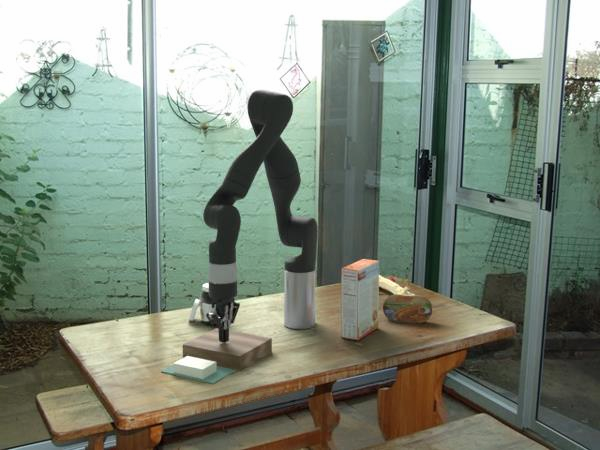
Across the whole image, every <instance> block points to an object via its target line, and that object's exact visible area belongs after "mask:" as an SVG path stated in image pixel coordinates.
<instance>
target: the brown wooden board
mask: <svg viewBox="0 0 600 450" xmlns="http://www.w3.org/2000/svg"><path fill="white" fill-rule="evenodd" d="M271 353H273V338H272V337H267V336H261V335H256V334H251V333H246V332H242V331H234V330H230V329H229V341H227V342H226V343H223V342H220V341H219V330H218V328H213V329H212V330H209V331H207V332H205V333H203V334H201V335H200V336H198V337H195V338H193V339H191V340H188V341H187V342H185V343H183V344H182V358H184V357H186V356H190V357H195V358H200V359H205V360H209V361H214V362H216V364H217V366H220V367H225V368H230V369H234V370H236V371H238V372H239V371H240V372H241V371H243V370H244V369H246V368H248V367H249V366H251V365H252V364H255V363H256V362H258V361H260V360H261V359H263V358H265V357H266V356H269V355H270V354H271Z"/></svg>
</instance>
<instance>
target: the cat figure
mask: <svg viewBox="0 0 600 450" xmlns="http://www.w3.org/2000/svg"><path fill="white" fill-rule="evenodd" d="M388 277H389V278H390V279H388V278H385V277H383V276H382V275H380V274H379V288H382V289H383V290H386V291H388V292H390V293H392V295H394V294H401V295H416V294H415V293H411V292H409V290H410V289H411V287H412V286H411V282H410V279H404V281H403V282H404V284H405V287H401V286H400V285H399V284H398V283H397V282H396V279H395V278H394V277H393V276H388Z"/></svg>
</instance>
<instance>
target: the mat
mask: <svg viewBox="0 0 600 450" xmlns="http://www.w3.org/2000/svg"><path fill="white" fill-rule="evenodd" d="M236 371H237V370H234V369H230V368H225V367H220V366H217V371H216V372H215V373H213V374H211V375H209V376H207V377H206V378H204V379H200V378H196V377H191V376H187V375H182V374H178V373H173V364H172V365H170V366H168V367H165V368H163V369H162V370H160V372H161V373H164V374H169V375H173V376H177V377H180V378H185V379H190V380H194V381H198V382H204V383H208V384H212V385H214V384H215V383H217V382H219V381H221V380H222V379H225V378H226V377H228V376H229V375H231V374H232V373H235V372H236Z"/></svg>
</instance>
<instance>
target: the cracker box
mask: <svg viewBox="0 0 600 450" xmlns="http://www.w3.org/2000/svg"><path fill="white" fill-rule="evenodd" d="M340 272H341V273H340V274H341V277H340V278H341V280H340V283H341V286H340V287H341V288H340V289H341V291H340V294H341V296H340V297H341V299H340V301H341V302H340V305H341V312H340V314H341V315H340V316H341V318H340V319H341V322H340V325H341V329H340V330H341V331H340V335H341V336H340V337H341V339H346V340H347V339H348V340H354V341H360V340H361V339H363V338H364V337H366V336H368V335H369V334H370V333H372V332H374V331H375V330H377V329H379V311H380V310H379V307H380V305H379V304H380V303H379V301H380V300H379V299H380V297H379V295H380V287H379V275H380V261H379V260H375V259H367V258H362V259H360V260H358V261H355V262H353V263H351V264H348V265H346V266H344V267H342V268H341V270H340Z"/></svg>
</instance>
